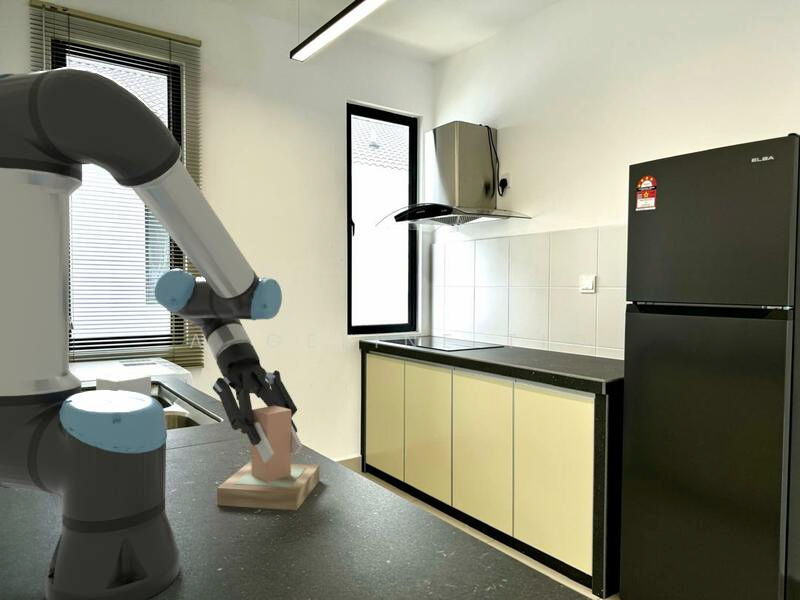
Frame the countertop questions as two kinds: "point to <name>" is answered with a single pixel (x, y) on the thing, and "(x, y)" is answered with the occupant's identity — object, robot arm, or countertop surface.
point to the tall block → (273, 443)
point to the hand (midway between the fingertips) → (283, 454)
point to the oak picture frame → (269, 488)
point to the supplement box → (125, 383)
